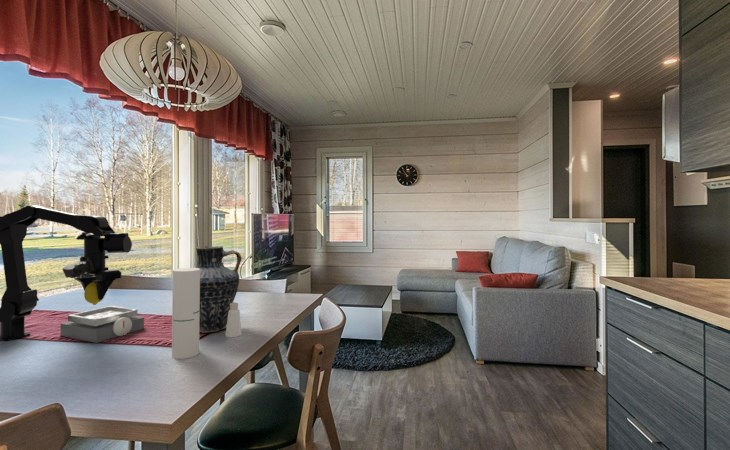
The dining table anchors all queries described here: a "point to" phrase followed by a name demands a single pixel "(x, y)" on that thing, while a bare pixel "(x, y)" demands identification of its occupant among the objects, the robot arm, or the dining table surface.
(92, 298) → the lemon
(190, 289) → the cylindrical container
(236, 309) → the pepper shaker
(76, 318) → the pan
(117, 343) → the dining table surface
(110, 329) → the scale
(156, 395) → the dining table surface
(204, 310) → the jug
